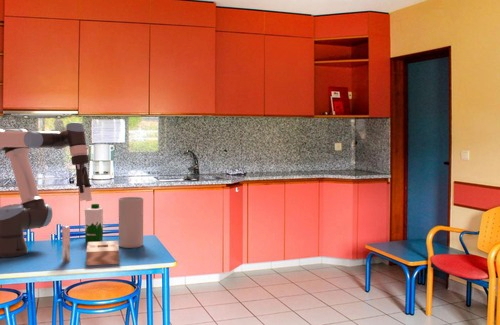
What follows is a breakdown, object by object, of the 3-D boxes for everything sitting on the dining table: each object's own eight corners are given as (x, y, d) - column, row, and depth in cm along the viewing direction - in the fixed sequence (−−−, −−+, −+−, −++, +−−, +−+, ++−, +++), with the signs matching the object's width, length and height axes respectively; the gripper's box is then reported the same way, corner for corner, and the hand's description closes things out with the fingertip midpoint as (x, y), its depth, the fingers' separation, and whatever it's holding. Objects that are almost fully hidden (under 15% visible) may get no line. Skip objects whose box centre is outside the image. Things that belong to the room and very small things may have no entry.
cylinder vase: (141, 242, 272) (141, 196, 270) (144, 247, 260) (144, 199, 259) (117, 244, 267) (117, 197, 266) (120, 249, 256) (119, 200, 254)
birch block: (86, 265, 222) (86, 252, 222) (88, 254, 243) (88, 242, 243) (118, 263, 226) (118, 250, 226) (117, 252, 247) (117, 240, 247)
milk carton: (104, 239, 278) (104, 203, 277) (98, 243, 269) (98, 206, 268) (89, 239, 278) (88, 203, 278) (82, 242, 269) (82, 205, 269)
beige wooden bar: (62, 262, 227) (62, 227, 226) (62, 261, 230) (62, 226, 229) (69, 262, 227) (69, 227, 227) (70, 260, 230) (70, 226, 230)
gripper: (82, 151, 222) (89, 198, 220) (92, 157, 246) (98, 199, 245) (65, 153, 221) (72, 201, 219) (76, 159, 245) (83, 202, 244)
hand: (86, 200), depth 232 cm, fingers open, 13 cm apart
